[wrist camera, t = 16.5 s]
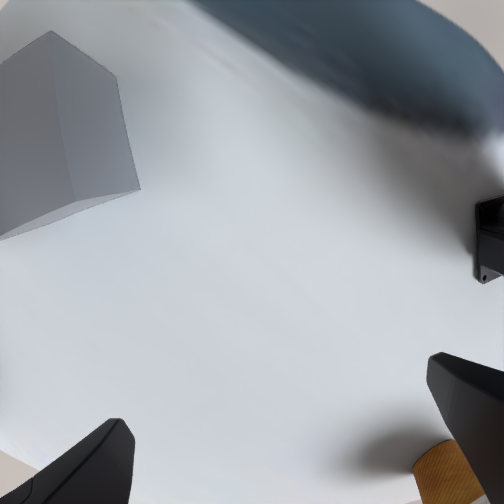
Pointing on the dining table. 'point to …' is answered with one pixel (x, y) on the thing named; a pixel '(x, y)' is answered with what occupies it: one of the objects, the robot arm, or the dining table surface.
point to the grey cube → (59, 136)
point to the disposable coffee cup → (447, 477)
